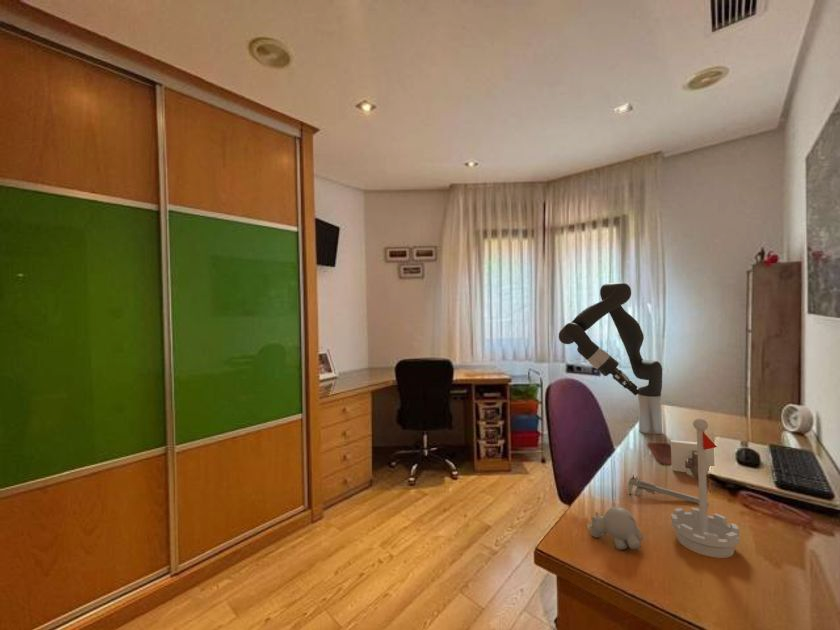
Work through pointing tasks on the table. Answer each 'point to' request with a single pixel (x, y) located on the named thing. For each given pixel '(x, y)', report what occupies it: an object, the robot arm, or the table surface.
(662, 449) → the wooden tablet
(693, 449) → the white notched plate
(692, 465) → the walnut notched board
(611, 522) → the chubby cartoon animal
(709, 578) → the table surface
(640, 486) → the caliper
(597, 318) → the robot arm
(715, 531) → the flag stand
